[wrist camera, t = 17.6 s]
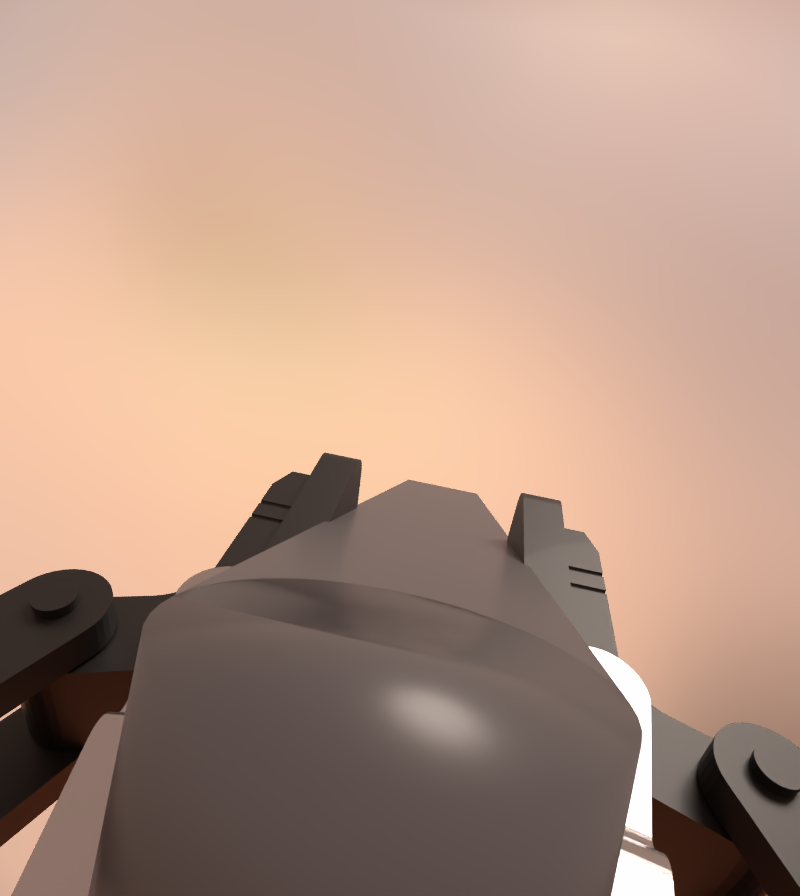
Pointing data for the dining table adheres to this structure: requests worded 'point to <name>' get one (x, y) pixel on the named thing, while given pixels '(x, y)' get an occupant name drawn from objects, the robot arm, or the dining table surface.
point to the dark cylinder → (370, 723)
